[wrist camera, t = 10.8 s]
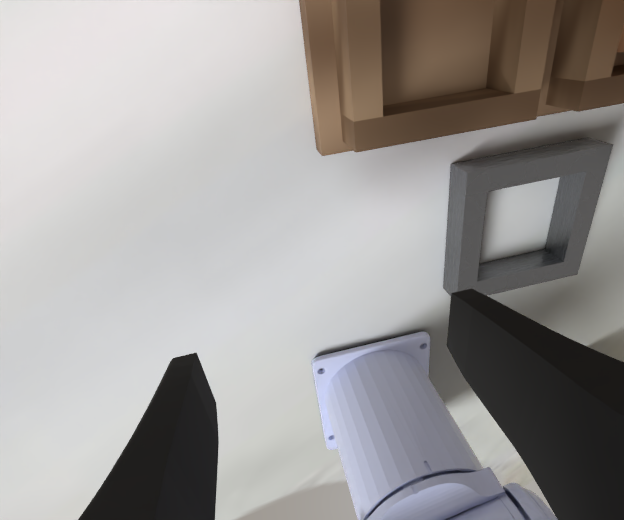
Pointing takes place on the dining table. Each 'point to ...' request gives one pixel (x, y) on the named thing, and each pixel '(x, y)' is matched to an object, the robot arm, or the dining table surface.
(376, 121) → the rack
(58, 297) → the dining table surface
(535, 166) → the socket
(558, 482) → the robot arm
